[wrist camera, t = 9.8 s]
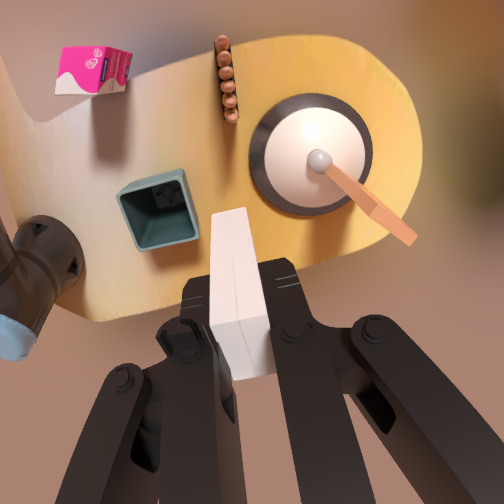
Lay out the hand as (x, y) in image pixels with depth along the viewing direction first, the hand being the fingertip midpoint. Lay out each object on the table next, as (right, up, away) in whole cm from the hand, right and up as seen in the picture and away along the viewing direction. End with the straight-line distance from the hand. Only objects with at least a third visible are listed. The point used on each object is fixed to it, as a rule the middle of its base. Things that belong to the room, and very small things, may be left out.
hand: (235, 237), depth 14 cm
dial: (+10, +13, +28) cm, 32 cm away
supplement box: (-19, +24, +19) cm, 36 cm away
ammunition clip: (-3, +23, +22) cm, 32 cm away
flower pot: (-12, +9, +30) cm, 33 cm away
